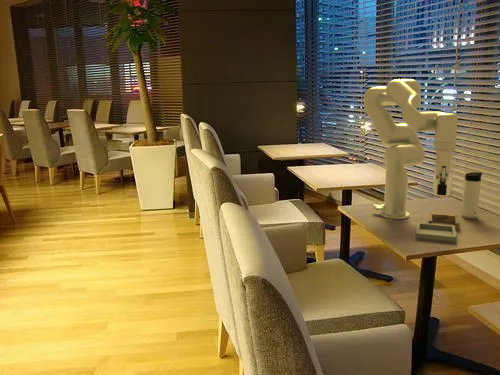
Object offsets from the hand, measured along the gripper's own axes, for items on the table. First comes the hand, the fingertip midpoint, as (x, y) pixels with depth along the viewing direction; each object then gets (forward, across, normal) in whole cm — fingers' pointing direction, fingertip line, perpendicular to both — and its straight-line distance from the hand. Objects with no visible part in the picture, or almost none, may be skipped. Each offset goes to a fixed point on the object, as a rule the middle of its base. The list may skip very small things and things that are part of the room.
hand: (441, 192), depth 183 cm
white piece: (+1, 0, 0) cm, 1 cm away
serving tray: (+17, +2, -1) cm, 17 cm away
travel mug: (+17, -28, +14) cm, 36 cm away
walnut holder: (+17, -13, +2) cm, 21 cm away
